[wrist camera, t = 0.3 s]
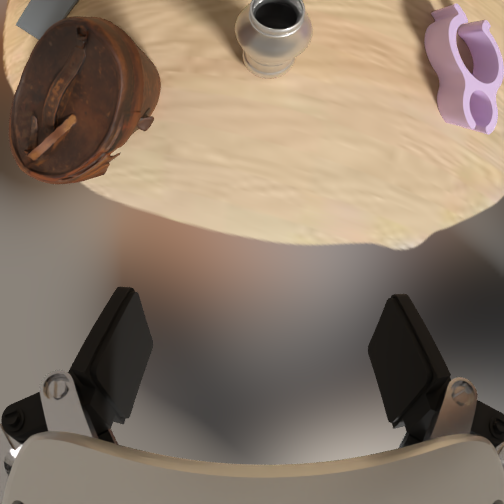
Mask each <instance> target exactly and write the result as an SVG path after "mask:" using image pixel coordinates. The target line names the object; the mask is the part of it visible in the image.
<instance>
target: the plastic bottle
mask: <svg viewBox="0 0 504 504" xmlns="http://www.w3.org/2000/svg"><path fill="white" fill-rule="evenodd" d="M312 32H313V28H312V23H311V20H310V18H309V16H308V14H307V12H306V11H305V6H304V3H303V1H302V0H252V1H251V3H250V4H248V5H247V6H246V7H245V8H244V9H243V10H242V11H241V13H240V14H239V16H238V18H237V21H236V24H235V34H236V38H237V40H238V43H239V44H240V46H241V47H242V49H243V61H244V64H245V66H246V67H247V69H248V70H249V71H250V72H251V73H253V74H254V75H256V76H258V77H261V78H265V79H272V78H277V77H280V76H282V75H284V74H286V73H287V72H288V71H289V70H290V69H291V68H292V66H293V64H294V61H295V57H297V56H298V55H299V54H301V53H302V52H303V51H304V50H305V49H306V48H307V47H308V45H309V43H310V41H311V38H312Z"/></svg>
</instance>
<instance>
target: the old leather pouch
mask: <svg viewBox="0 0 504 504" xmlns="http://www.w3.org/2000/svg"><path fill="white" fill-rule="evenodd" d="M160 88H161V83H160V77H159V74H158V71H157V69H156V67H155V66H154V64H153V63H152V62H151V61H150V60H149V59H148V58H147V56H146V55H145V54H144V53H143V52H142V51H141V50H140V49H139V48H138V47H137V46H136V44H135V43H134V42H133V40H132V39H131V38H130V37H129V36H128V35H127V34H126V33H125V32H124V31H123V30H122V29H120V28H119V27H117V26H116V25H114V24H113V23H112V22H110V21H108V20H105V19H102V18H98V17H69V18H65V19H62V20H60V21H58V22H56V23H55V24H53V25H52V26H51V27H49V28H48V29H47V30H46V32H45V33H44V34H43V36H42V37H41V38H40V39H39V41H38V42H37V44H36V46H35V47H34V49H33V51H32V53H31V55H30V58H29V60H28V62H27V64H26V66H25V68H24V70H23V73H22V76H21V79H20V82H19V85H18V87H17V90H16V93H15V95H14V99H13V102H12V107H11V113H10V118H9V143H10V149H11V152H12V154H13V157H14V159H15V161H16V163H17V165H18V166H19V167H20V169H21V170H22V171H23V172H25V173H26V174H27V175H29V176H30V177H33V178H35V179H37V180H39V181H42V182H46V183H50V184H68V183H76V182H81V181H85V180H88V179H91V178H94V177H98V176H101V175H104V174H105V172H106V171H107V168H108V166H109V165H110V164H109V162H110V161H111V160H113V159H114V158H116V157H117V156H118V155H119V154H120V153H119V154H116V155H114V156H110V154H111V153H112V152H114V151H115V150H116V149H117V148H119V147H121V146H122V145H124V144H125V143H126V142H127V140H128V139H129V137H130V136H131V135H132V134H133V133H134V132H135V131H136V130H138V129H141V130H143V131H146V130H147V129H148V128H149V127H150V126H151V124H152V123H153V121H154V117H150V116H151V114H152V112H153V111H154V109H155V107H156V105H157V102H158V99H159V95H160Z"/></svg>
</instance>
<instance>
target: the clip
mask: <svg viewBox="0 0 504 504" xmlns="http://www.w3.org/2000/svg"><path fill="white" fill-rule="evenodd" d="M431 15H432V16H433V18H434V19H435V22H434V23H432V24H430V25H429V26H428V28H427V30H426V32H425V38H424V43H425V50H426V53H427V56H428V59H429V61H430V63H431V65H432V67H433V69H434V70H435V72H436V73H437V75H438V78H439V90H438V94H437V104H438V109H439V112H440V114H441V116H442V118H443V119H444V121H445V122H446V123H450V124H454V125H458V126H461V127H464V128H468V129H471V130H475V131H478V132H482V133H485V134H490V133H491V132H492V131H493V130H494V128H495V126H496V123H497V118H498V110H497V104H496V93H497V90H498V88H499V87H500V85H501V83H502V80H503V75H504V66H503V60H502V56H501V52H500V50H499V47H498V45H497V43H496V41H495V39H494V38H493V36H492V35H491V33H490V32H489V29H490V24H489V22H488V21H487V20H482V21H477V22H471V23H468V20H467V17H466V15H465V13H464V12H463V10H462V9H461V7H460V6H459V5H458V4H453V5H450V6H447V7H444V8H441V9H439V10H436V11H433V12H431ZM464 23H466V24H464ZM461 24H462V25H461ZM460 25H461V26H460ZM459 26H460V27H459ZM458 27H459V28H458ZM457 29H458V35H459V36H460V37H461V38H462V39H463V40H464V41H465V43H466V44H467V46H468V48H469V50H470V52H471V55H472V58H473V73H472V74H471V73H470V72H469V71H468V69H467V68H466V66H465V65H464V63H463V61H462V59H461V57H460V54H459V51H458V48H457V43H456V32H457Z"/></svg>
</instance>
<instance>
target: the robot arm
mask: <svg viewBox="0 0 504 504" xmlns="http://www.w3.org/2000/svg"><path fill="white" fill-rule="evenodd" d="M152 348H153V340H152V337H151V334H150V331H149V328H148V325H147V322H146V319H145V315H144V311H143V308H142V305H141V301H140V298H139V294H138V293H137V292H135V291H134V289H133V288H130V287H118V288H117V289H116V290H115V292H114V293H113V295H112V297H111V298H110V300H109V302H108V303H107V305H106V306H105V308H104V310H103V311H102V313H101V315H100V316H99V318H98V320H97V321H96V323H95V324H94V326H93V328H92V330H91V331H90V333H89V335H88V337H87V338H86V340H85V342H84V344H83V346H82V347H81V349H80V351H79V353H78V355H77V357H76V359H75V361H74V362H73V364H72V366H71V368H70V370H69V372H66V371H63V370H55V371H52V372H50V373H48V374H47V375H46V376H45V377H44V378H43V380H42V382H41V385H40V392H38V393H36V394H34V395H31V396H29V397H27V398H25V399H22V400H20V401H18V402H16V403H13V404H11V405H9V406H8V407H7V408H6V409H5V410H4V412H3V415H2V423H1V424H0V504H504V414H502V413H501V412H499V411H497V410H495V409H493V408H491V407H490V406H488V405H485V404H484V403H482V402H480V401H478V400H477V397H478V394H477V390H476V388H475V386H474V385H473V384H472V383H471V381H469V380H467V379H466V378H462V377H457V378H454V379H452V380H451V379H450V375H451V374H450V372H449V370H448V368H447V366H446V364H445V362H444V360H443V358H442V356H441V354H440V352H439V350H438V348H437V346H436V344H435V342H434V340H433V338H432V336H431V335H430V333H429V331H428V329H427V327H426V325H425V324H424V322H423V320H422V318H421V317H420V315H419V313H418V311H417V310H416V308H415V306H414V304H413V303H412V301H411V299H410V298H409V296H408V295H407V294H394V295H392V296H391V298H389V299H388V300H387V302H386V304H385V307H384V310H383V312H382V315H381V317H380V320H379V322H378V325H377V327H376V329H375V332H374V334H373V336H372V339H371V341H370V343H369V346H368V354H369V357H370V360H371V363H372V367H373V369H374V373H375V376H376V379H377V383H378V386H379V389H380V392H381V396H382V400H383V403H384V407H385V411H386V414H387V418H388V420H389V422H391V423H392V425H393V428H399V427H403V426H405V427H406V431H407V432H406V434H405V436H404V438H403V440H402V442H401V444H400V446H399V448H398V449H394V450H390V451H385V452H381V453H376V454H371V455H366V456H361V457H355V458H349V459H342V460H335V461H326V462H316V463H304V464H286V465H246V464H227V463H214V462H205V461H197V460H189V459H183V458H177V457H171V456H165V455H160V454H154V453H150V452H146V451H141V450H137V449H133V448H129V447H125V446H121V445H119V444H118V442H117V441H116V438H115V436H114V435H113V432H112V430H111V426H112V423H113V422H117V423H121V424H124V421H125V418H129V417H130V414H131V411H132V408H133V404H134V402H135V398H136V395H137V392H138V389H139V386H140V383H141V380H142V377H143V374H144V371H145V368H146V365H147V362H148V359H149V357H150V354H151V351H152Z"/></svg>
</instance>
